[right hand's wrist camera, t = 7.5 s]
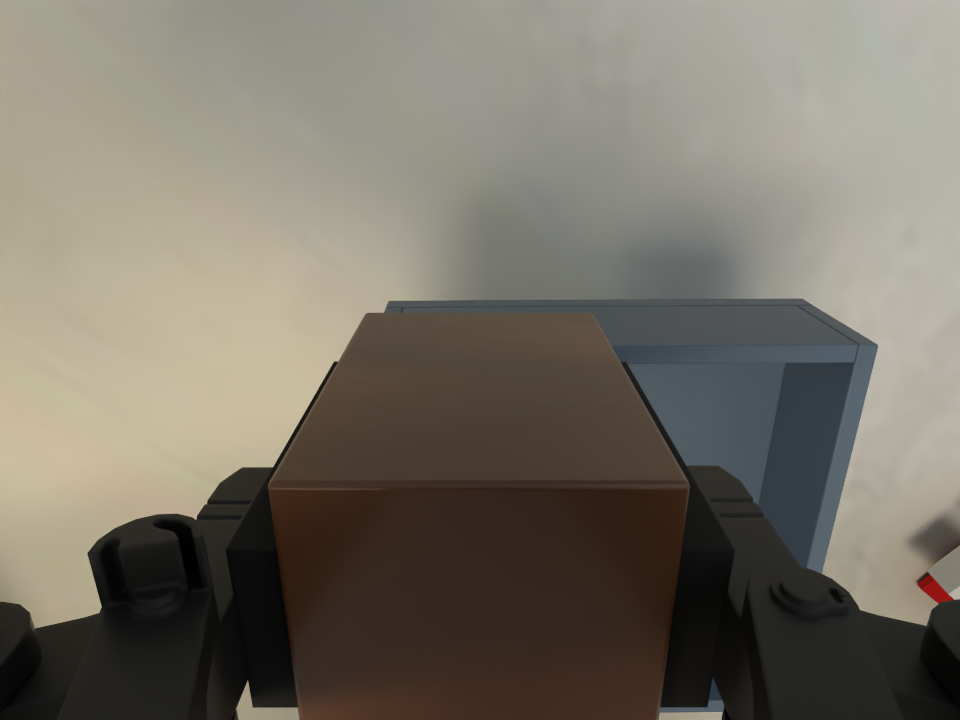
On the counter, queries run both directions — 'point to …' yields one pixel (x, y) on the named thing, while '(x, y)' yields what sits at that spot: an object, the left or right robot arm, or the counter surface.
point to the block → (479, 526)
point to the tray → (739, 397)
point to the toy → (944, 578)
